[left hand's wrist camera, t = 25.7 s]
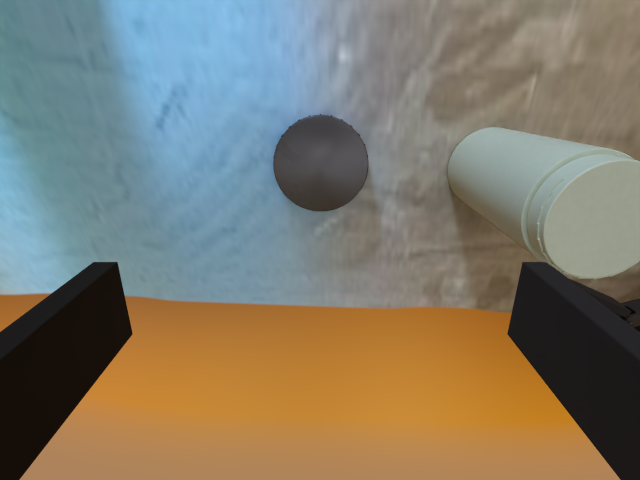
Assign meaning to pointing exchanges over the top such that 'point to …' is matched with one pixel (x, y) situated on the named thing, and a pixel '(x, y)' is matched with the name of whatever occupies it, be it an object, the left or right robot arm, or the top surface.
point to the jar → (553, 198)
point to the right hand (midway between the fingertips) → (611, 223)
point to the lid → (320, 163)
